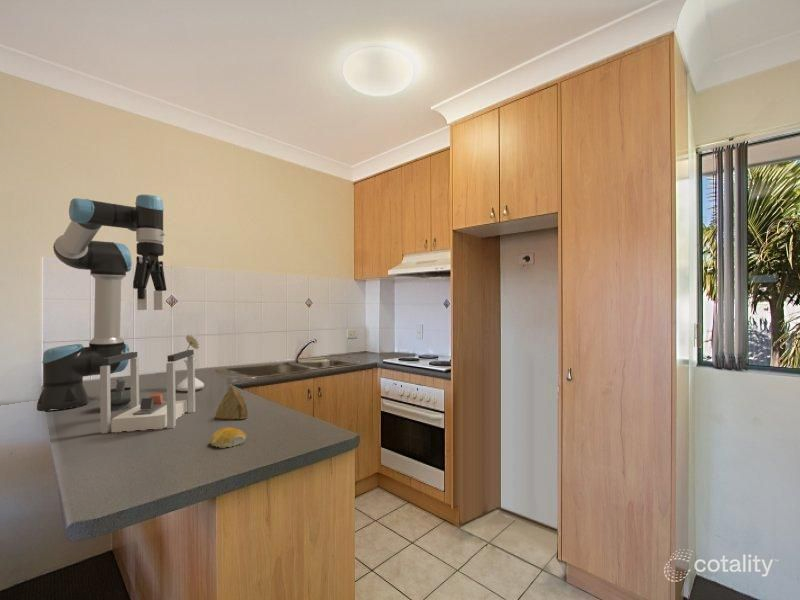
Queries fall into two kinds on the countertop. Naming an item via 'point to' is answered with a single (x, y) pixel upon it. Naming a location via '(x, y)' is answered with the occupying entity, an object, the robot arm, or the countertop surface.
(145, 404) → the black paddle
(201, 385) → the flower in vase
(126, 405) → the mortar and pestle
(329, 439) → the countertop surface
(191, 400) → the white grey open frame
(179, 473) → the countertop surface
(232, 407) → the rock
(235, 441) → the bread roll
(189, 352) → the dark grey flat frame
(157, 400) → the terracotta block
